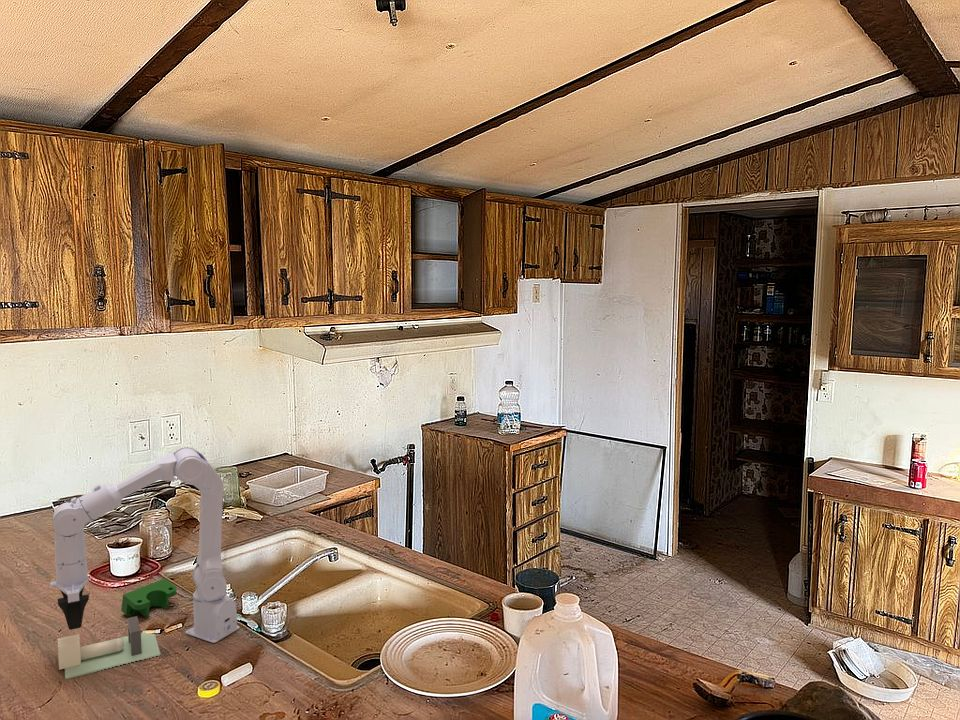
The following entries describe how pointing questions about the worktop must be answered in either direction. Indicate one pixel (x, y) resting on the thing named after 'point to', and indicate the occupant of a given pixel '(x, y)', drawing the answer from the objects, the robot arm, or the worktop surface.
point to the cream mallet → (83, 650)
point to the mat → (116, 657)
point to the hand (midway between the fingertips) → (74, 620)
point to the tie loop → (134, 635)
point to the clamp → (148, 597)
